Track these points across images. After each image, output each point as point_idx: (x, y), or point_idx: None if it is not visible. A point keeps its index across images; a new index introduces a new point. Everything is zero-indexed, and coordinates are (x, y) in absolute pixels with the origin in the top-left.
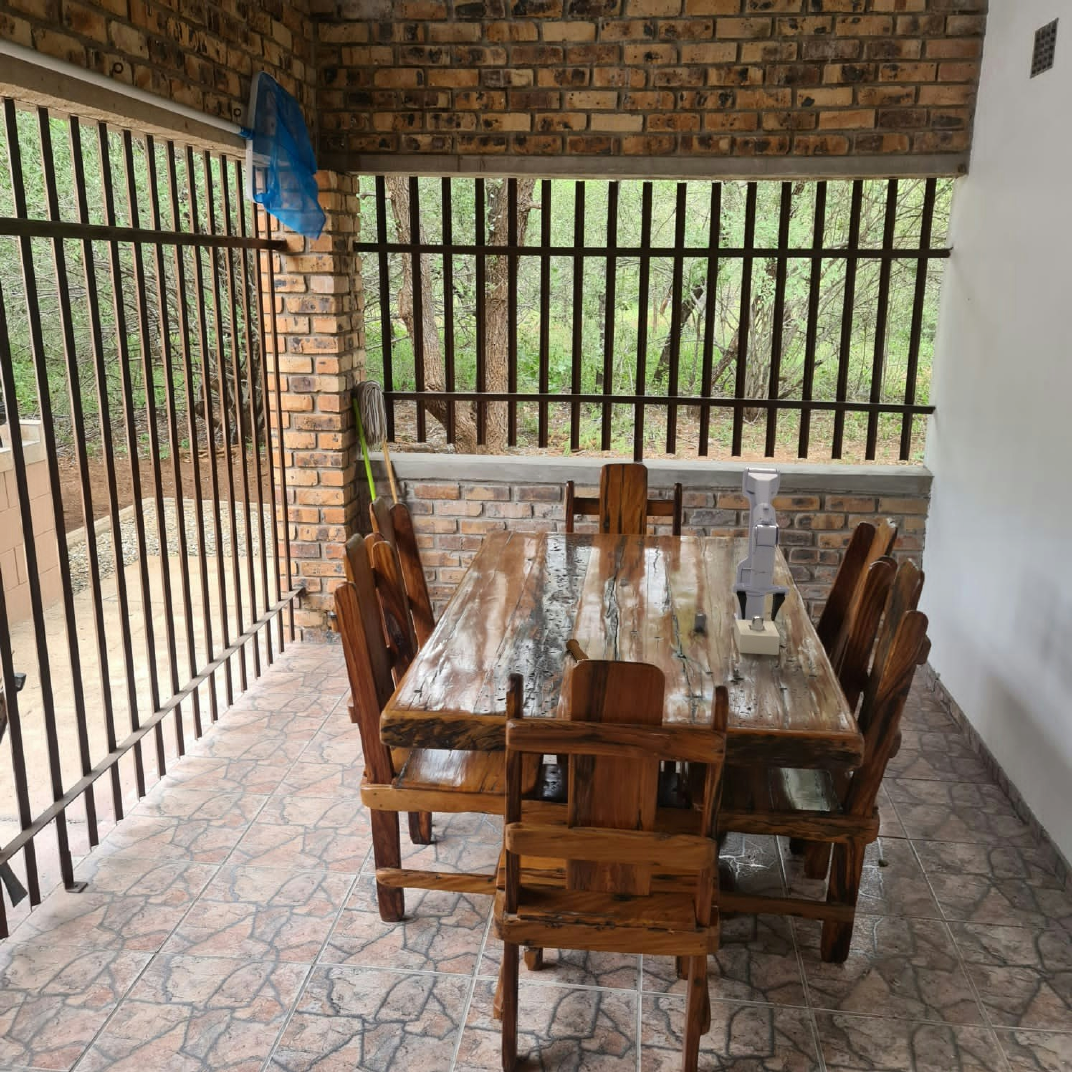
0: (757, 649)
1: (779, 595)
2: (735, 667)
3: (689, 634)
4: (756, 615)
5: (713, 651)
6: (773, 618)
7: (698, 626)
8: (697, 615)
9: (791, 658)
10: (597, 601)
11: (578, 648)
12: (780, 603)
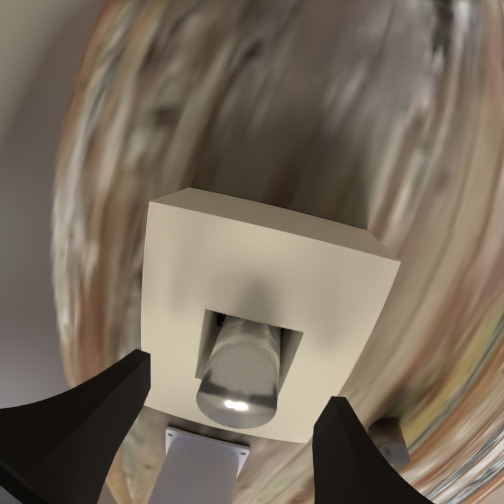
0: (288, 213)
1: (19, 483)
2: (435, 75)
3: (431, 399)
4: (235, 426)
5: (454, 257)
6: (134, 360)
7: (399, 430)
8: (406, 460)
9: (146, 146)
10: (451, 487)
11: None
12: (25, 414)
